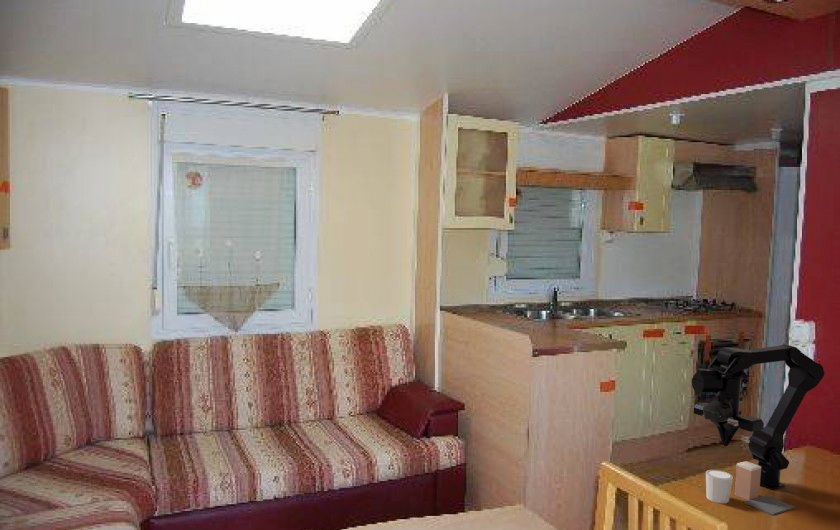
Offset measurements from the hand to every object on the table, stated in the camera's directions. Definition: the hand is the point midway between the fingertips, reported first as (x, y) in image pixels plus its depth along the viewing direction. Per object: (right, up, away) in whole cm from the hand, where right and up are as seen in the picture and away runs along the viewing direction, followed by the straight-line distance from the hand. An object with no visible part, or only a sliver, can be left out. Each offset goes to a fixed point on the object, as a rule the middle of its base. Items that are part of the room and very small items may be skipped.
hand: (725, 445), depth 184 cm
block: (+3, -13, -6) cm, 14 cm away
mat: (+6, -13, -11) cm, 18 cm away
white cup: (-6, -13, -8) cm, 16 cm away
